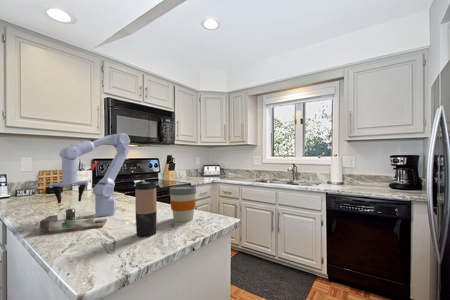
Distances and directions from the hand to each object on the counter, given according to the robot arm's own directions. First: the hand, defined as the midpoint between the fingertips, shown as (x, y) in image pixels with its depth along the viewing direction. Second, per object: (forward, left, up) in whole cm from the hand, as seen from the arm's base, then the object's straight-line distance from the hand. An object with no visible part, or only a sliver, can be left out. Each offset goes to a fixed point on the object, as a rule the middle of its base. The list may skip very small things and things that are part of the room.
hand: (69, 202), depth 99 cm
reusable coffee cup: (-50, +15, -10) cm, 53 cm away
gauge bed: (-5, +9, -9) cm, 14 cm away
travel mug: (-34, +29, -10) cm, 46 cm away
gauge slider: (-3, +10, -8) cm, 13 cm away
